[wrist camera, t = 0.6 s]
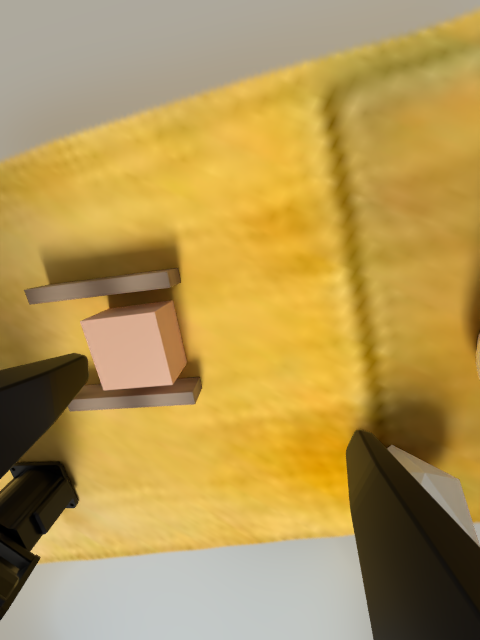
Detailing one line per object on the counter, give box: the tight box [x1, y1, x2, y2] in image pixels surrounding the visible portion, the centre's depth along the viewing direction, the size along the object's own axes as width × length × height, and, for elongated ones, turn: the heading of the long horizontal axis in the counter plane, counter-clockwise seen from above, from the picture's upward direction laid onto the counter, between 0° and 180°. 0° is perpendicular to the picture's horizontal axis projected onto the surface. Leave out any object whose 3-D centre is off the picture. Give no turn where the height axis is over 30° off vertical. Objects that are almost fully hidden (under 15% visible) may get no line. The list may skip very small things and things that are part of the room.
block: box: [80, 300, 187, 390], centre depth 22 cm, size 6×6×4 cm
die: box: [387, 445, 480, 547], centre depth 22 cm, size 8×9×10 cm
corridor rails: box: [24, 268, 202, 411], centre depth 22 cm, size 12×11×2 cm
